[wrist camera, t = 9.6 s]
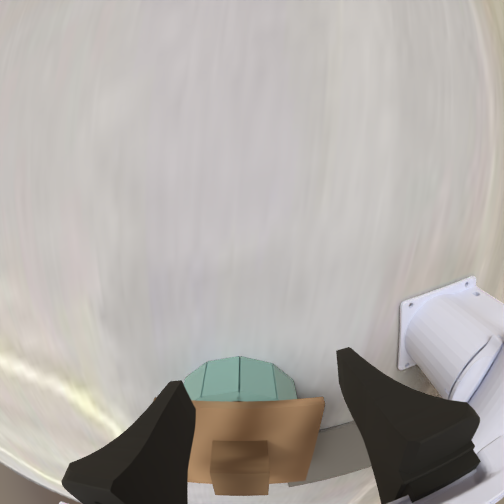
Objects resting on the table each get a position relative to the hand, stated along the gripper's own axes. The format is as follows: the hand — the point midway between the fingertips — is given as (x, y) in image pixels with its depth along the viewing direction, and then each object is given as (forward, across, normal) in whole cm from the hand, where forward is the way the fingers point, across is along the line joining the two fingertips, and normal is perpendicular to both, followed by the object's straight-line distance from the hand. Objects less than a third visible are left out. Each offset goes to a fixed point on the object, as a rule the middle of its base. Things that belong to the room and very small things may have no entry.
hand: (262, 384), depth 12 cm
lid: (+6, +4, +13) cm, 15 cm away
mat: (+10, -6, +25) cm, 28 cm away
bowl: (+10, +4, +11) cm, 16 cm away
